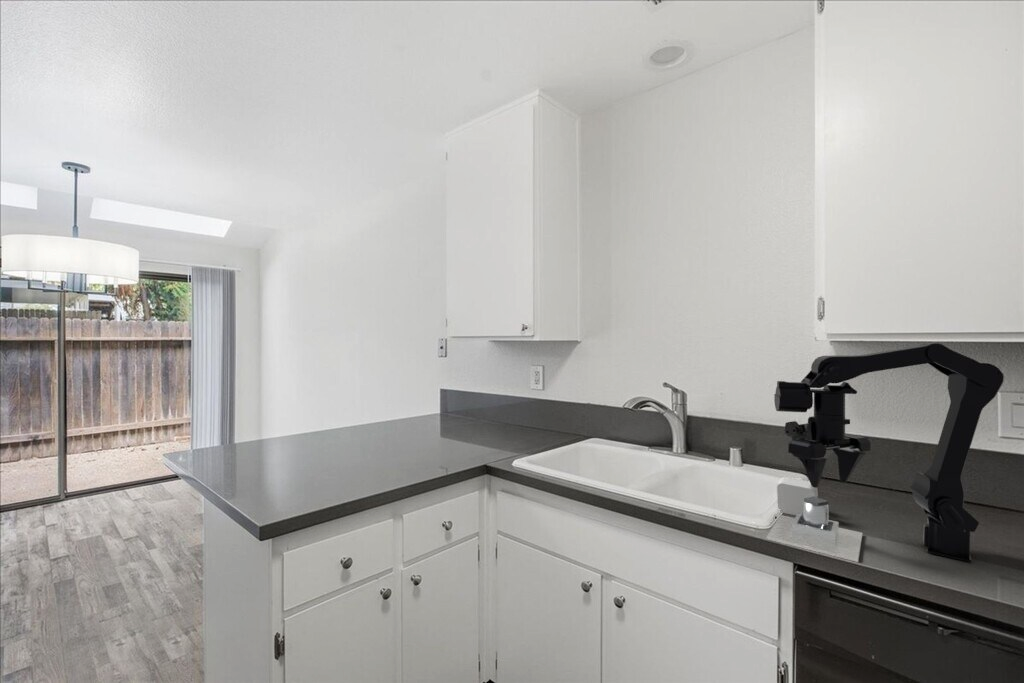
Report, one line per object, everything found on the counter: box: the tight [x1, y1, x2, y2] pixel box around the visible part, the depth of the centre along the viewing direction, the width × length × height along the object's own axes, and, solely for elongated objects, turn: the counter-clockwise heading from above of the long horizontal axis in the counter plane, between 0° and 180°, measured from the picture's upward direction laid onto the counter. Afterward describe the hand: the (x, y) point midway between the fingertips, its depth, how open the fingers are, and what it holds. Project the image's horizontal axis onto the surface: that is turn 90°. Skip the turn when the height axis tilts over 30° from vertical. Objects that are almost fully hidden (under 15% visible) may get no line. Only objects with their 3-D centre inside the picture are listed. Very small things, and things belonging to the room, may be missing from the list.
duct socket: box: [766, 513, 863, 563], centre depth 104 cm, size 16×16×3 cm
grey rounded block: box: [776, 476, 819, 517], centre depth 119 cm, size 8×10×10 cm
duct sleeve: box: [803, 496, 830, 530], centre depth 103 cm, size 5×5×8 cm
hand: (829, 484), depth 103 cm, fingers open, 9 cm apart
